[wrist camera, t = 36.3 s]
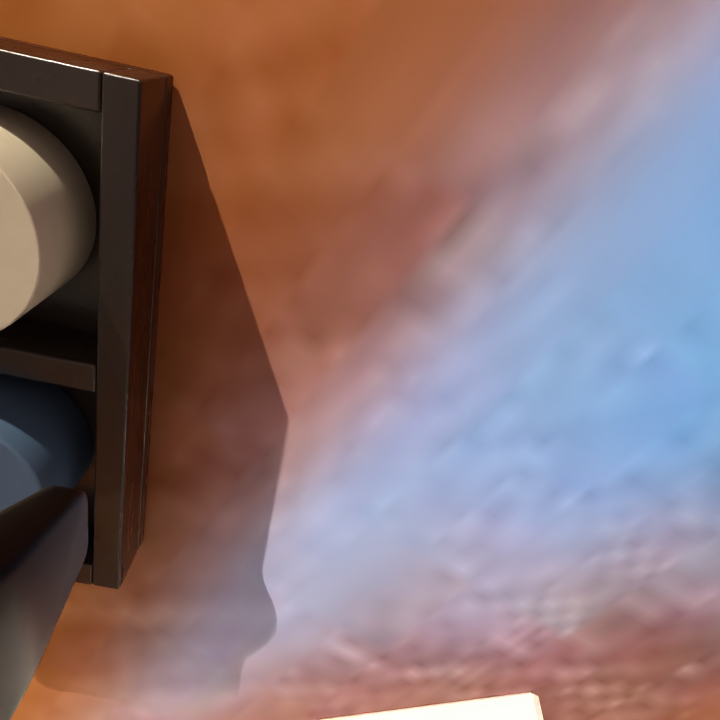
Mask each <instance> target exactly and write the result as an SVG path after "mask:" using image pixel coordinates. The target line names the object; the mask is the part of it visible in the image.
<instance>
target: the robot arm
mask: <svg viewBox="0 0 720 720" xmlns="http://www.w3.org/2000/svg"><path fill="white" fill-rule="evenodd" d="M87 548H88V499H87V495H86V493H85V492H84V491H82V490H80V489H74V488H69V487H63V486H58V485H51V486H47V487H45V488H43V489H41V490H39V491H37V492H35V493H33V494H31V495H30V496H28V497H26V498H24V499H22V500H20V501H18V502H16V503H14V504H13V505H11V506H9V507H7V508H5V509H3V510H1V511H0V720H10V719H11V717H12V715H13V714H14V712H15V710H16V708H17V707H18V705H19V703H20V701H21V699H22V697H23V695H24V694H25V692H26V690H27V688H28V686H29V684H30V682H31V680H32V678H33V676H34V673H35V671H36V669H37V667H38V665H39V663H40V660H41V658H42V656H43V654H44V651H45V649H46V647H47V644H48V642H49V640H50V638H51V635H52V633H53V631H54V629H55V626H56V624H57V622H58V619H59V617H60V615H61V613H62V610H63V608H64V606H65V603H66V601H67V599H68V597H69V594H70V592H71V590H72V588H73V585H74V583H75V581H76V578H77V576H78V574H79V572H80V569H81V567H82V565H83V562H84V560H85V557H86V553H87Z"/></svg>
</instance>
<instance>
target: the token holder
mask: <svg viewBox="0 0 720 720" xmlns="http://www.w3.org/2000/svg"><path fill="white" fill-rule="evenodd" d="M172 87H173V76H172V75H170V74H166V73H162V72H157V71H153V70H148V69H144V68H139V67H135V66H130V65H126V64H121V63H117V62H112V61H108V60H103V59H99V58H94V57H90V56H85V55H81V54H76V53H72V52H67V51H63V50H58V49H54V48H49V47H45V46H40V45H36V44H31V43H27V42H22V41H18V40H13V39H9V38H4V37H0V105H1V106H5V107H8V108H11V109H13V110H16V111H18V112H20V113H23V114H25V115H26V116H28V117H30V118H32V119H33V120H35V121H37V122H38V123H39V124H41V125H42V126H44V127H45V128H46V129H48V130H49V131H50V132H51V133H52V134H53V135H54V136H56V137H57V138H58V139H59V140H60V141H61V142H62V143H63V145H64V146H65V147H66V148H67V149H68V150H69V151H70V153H71V154H72V155H73V157H74V158H75V160H76V161H77V162H78V164H79V166H80V168H81V169H82V171H83V173H84V175H85V177H86V179H87V182H88V184H89V186H90V189H91V192H92V196H93V199H94V204H95V210H96V224H97V225H96V236H95V241H94V245H93V248H92V251H91V253H90V256H89V258H88V260H87V261H86V263H85V265H84V266H83V268H82V269H81V270H80V271H79V272H78V273H77V275H75V276H74V277H73V278H72V279H71V280H70V281H68V282H67V283H66V284H64V285H63V286H62V287H60V288H59V289H58V290H56V291H55V292H54V293H52V294H51V295H50V296H48V297H47V298H46V299H44V300H43V301H42V302H40V303H39V304H38V305H36V306H35V307H34V308H32V309H31V310H30V311H28V312H27V313H26V314H24V315H23V316H22V317H20V318H19V319H18V320H16V321H15V322H14V323H12V324H11V325H9V326H7V327H6V328H4V329H2V330H1V331H0V374H3V375H8V376H13V377H18V378H23V379H29V380H34V381H39V382H44V383H49V384H54V385H57V386H58V387H60V388H61V389H62V390H63V391H64V392H65V393H66V394H67V395H69V397H70V398H71V399H72V400H73V401H74V402H75V403H76V405H77V406H78V408H79V409H80V411H81V412H82V414H83V416H84V418H85V419H86V421H87V424H88V427H89V429H90V434H91V438H92V456H91V460H90V464H89V466H88V468H87V471H86V472H85V474H84V475H83V477H82V478H81V480H80V481H79V482H78V484H77V485H76V487H75V488H74V489H80V490H82V491H84V492H85V493H86V495H87V499H88V548H87V553H86V557H85V560H84V562H83V565H82V567H81V569H80V572H79V574H78V576H77V578H76V581H75V582H79V583H84V584H90V585H91V584H92V583H93V584H94V585H97V586H103V587H109V588H114V589H119V587H120V586H121V584H122V582H123V580H124V578H125V576H126V574H127V571H128V569H129V567H130V565H131V563H132V561H133V559H134V557H135V555H136V553H137V550H138V549H139V547H140V545H141V543H142V541H143V534H144V519H145V503H146V488H147V472H148V457H149V442H150V426H151V411H152V395H153V380H154V365H155V349H156V334H157V318H158V303H159V288H160V272H161V257H162V241H163V226H164V211H165V195H166V180H167V164H168V149H169V134H170V118H171V103H172Z"/></svg>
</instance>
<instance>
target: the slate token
mask: <svg viewBox="0 0 720 720" xmlns="http://www.w3.org/2000/svg"><path fill="white" fill-rule="evenodd" d="M91 456H92V438H91V434H90V429H89V427H88V424H87V421H86V419H85V418H84V416H83V414H82V412H81V411H80V409H79V408H78V406H77V405H76V403H75V402H74V401H73V400H72V399H71V398H70V397H69V395H67V394H66V393H65V392H64V391H63V390H62V389H61V388H60V387H58V386H57V385H54V384H49V383H44V382H39V381H34V380H29V379H23V378H18V377H13V376H8V375H3V374H0V511H1V510H3V509H5V508H7V507H9V506H11V505H13V504H14V503H16V502H18V501H20V500H22V499H24V498H26V497H28V496H30V495H31V494H33V493H35V492H37V491H39V490H41V489H43V488H45V487H47V486H51V485H58V486H63V487H69V488H75V487H76V485H77V484H78V482H79V481H80V480H81V478H82V477H83V475H84V474H85V472H86V471H87V468H88V466H89V464H90V460H91Z"/></svg>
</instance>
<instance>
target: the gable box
mask: <svg viewBox="0 0 720 720" xmlns="http://www.w3.org/2000/svg"><path fill="white" fill-rule="evenodd" d="M319 720H543V715H542V711H541V706H540V702H539V697H538V696H537V695H536V694H534V693H533V692H526V693H519V694H511V695H503V696H495V697H488V698H480V699H472V700H465V701H457V702H449V703H442V704H434V705H426V706H419V707H411V708H403V709H396V710H388V711H380V712H373V713H365V714H357V715H350V716H342V717H334V718H327V719H319Z"/></svg>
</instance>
